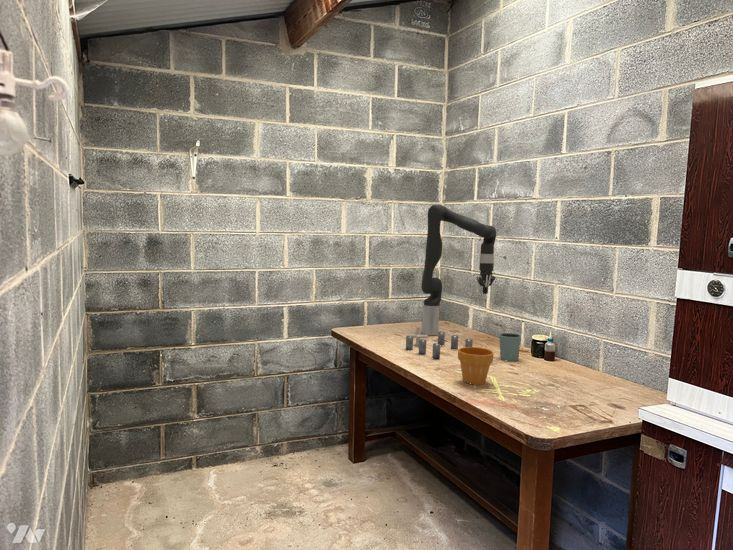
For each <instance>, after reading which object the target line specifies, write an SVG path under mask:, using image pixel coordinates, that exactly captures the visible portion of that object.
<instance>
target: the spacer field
mask: <svg viewBox="0 0 733 550" xmlns="http://www.w3.org/2000/svg"><path fill="white" fill-rule="evenodd" d="M450 337H451V338H450V349H451V350H452V349H459V335H456V334H452V335H451V336H450ZM445 341H446V331H438V335H437V342H436V343H432V353H431V355H432V356H431V359H432V358H433V359H432V360H436V359H438V360H441V346H440V345H444V346H445ZM464 343H465V344H464V347H474V346H473V344H474V340H473V339H472V338H465V341H464ZM413 349H414V338H413V336H408V335H406V336H405V351H408V350H409V351H410V352H412V351H413ZM411 350H412V351H411ZM420 354H421V355H420ZM425 354H426V355H427V339H425V338H420V340H419V346H418V355H420V356H424V355H425Z"/></svg>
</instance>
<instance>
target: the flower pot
mask: <svg viewBox="0 0 733 550" xmlns="http://www.w3.org/2000/svg"><path fill="white" fill-rule="evenodd" d="M457 360H458V361H459V362H460V368H461V375H462V381H463V382H464V383H465V382H467V383H471V384H470V385H472V384H482V385H484V384H486V380H487V377H488V374H489V371H490V366H491V364H492V363H493V362H494V351H493V350H492V349H489V348H483V347H477V346H472V347H465V346H464V347H460V348H458V350H457ZM467 383H466V384H467ZM483 383H484V384H483Z"/></svg>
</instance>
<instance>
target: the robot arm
mask: <svg viewBox="0 0 733 550" xmlns="http://www.w3.org/2000/svg"><path fill="white" fill-rule="evenodd" d="M441 222H446V223H447V222H448V223H451V224H453V225H454V226H456V227H458V228H460V229H462V230H463V231H467V232H468V233H472V234H475V235H476V236H479V237H480V238H483V241H482V243H481V245H480V254H479V268H478V270H479V276H476V277H475V279H476V281H477V283H478V284H479V286H480V287H482V295H488V293H489V287H491V286H492V284H493V283H494V281H495V279H496V276H494V275H493V271H494V265H495V264H494V263H495V261H494V260H495V255H494V253H495V243H496V239H497V229H496V228H495V226H493V225H488V224H484V223H480V222H479V221H478V220H476V219H473V218H471V217H468V216H465V215H462V214H459V213H456V212H454V211H452V210H451V209H449V208H448V207H446V206H444V205H442V204H433V205H431V206H430V207H429V208H428V211H427V235H426V244H425V245H426V246H425V258H424V266H423V267H424V268H423V273H422V279H421V291H422V292H423V293H424V294H426V295H427V294H428V295H429V296H428V297H427V298H425V299H424V300H423V309H422V310H423V312H422V314H423V316H422V317H421V329H420V334H421V335H428V336H430V335H435V336H438V332H439V330H440V329H439V326H440V322H439V321H440V303H441V300H442V295H443V294H442V292H443V282H442V280H441V279H440V278H439V277H434V276H433V275H434V270H435V269H436V266H437V265H438V263H439V262H440V260H441V258H442V254H443V239H442V235H441V224H442V223H441Z"/></svg>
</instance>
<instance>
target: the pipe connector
mask: <svg viewBox="0 0 733 550" xmlns="http://www.w3.org/2000/svg"><path fill="white" fill-rule="evenodd" d="M415 332H416V333H415V334H411V333H410V334H408V335H407V336H413V339H415V346H416V347H419V340H420V339H428V338H429V337H428V336H429V335H424V334H421V326H416V330H415Z"/></svg>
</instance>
